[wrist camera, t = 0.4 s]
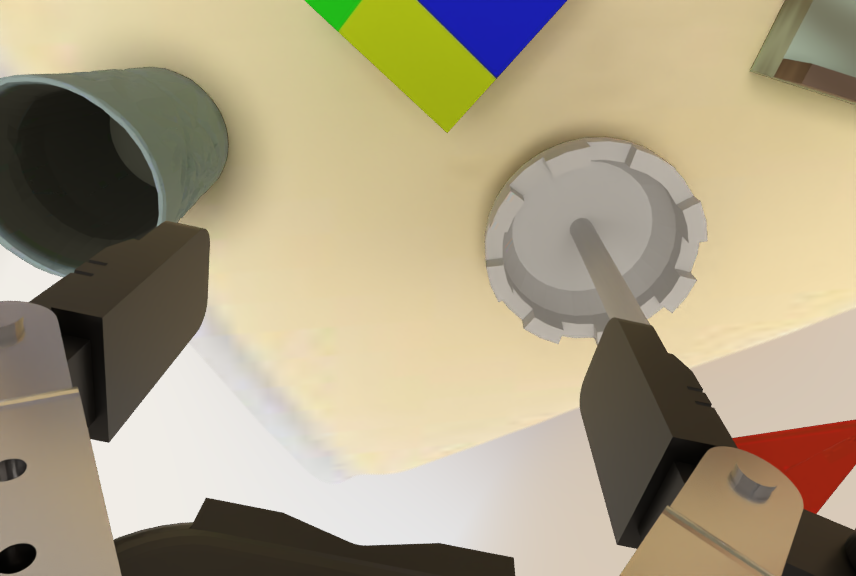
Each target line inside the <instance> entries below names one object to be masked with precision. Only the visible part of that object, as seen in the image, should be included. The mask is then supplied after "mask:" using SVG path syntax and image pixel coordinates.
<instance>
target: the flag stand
mask: <svg viewBox="0 0 856 576" xmlns="http://www.w3.org/2000/svg"><path fill="white" fill-rule="evenodd" d="M704 241H708V240H707V223H706V218H705V215H704V211H703V208H702V205H701V202H700V201H699V200H698V199H697V198H696V197H694V196H693V194H692V192H691V190H690V189H689V187H688V185H687V184H686V182H685V180H684V178H683V177H682V176H681V175H680V174H679V173H678V172H677V171H676V170H675V168H674V167H673V166H672V165H670V164H669V163H668V162H667V161H665V160H664V159H663V158H661V157H660V156H658V155H657V154H655V153H654V152H652V151H650V150H649V149H647V148H646V147H643V146H640V145H638V144H635V143H632V142H630V141H627V140H621V139H615V138H608V137H594V138H581V139H577V140H573V141H568V142H564V143H561V144H558V145H556V146H554V147H552V148H549V149H547V150H545V151H543V152H541V153H539V154H538V155H536V156H535V157H533V158H532V159H531V160H529V161H528V162H526V163H525V164H523V165H522V166H521V167H520V168H519V169H518V170H517V171H516V172H515V173H514V174H513V175H512V176H511V177H510V178H509V179H508V180H507V182H506V183H505V185H504V186H503V188H502V189H501V191H500V192H499V194H498V195H497V197H496V199H495V201H494V204H493V206H492V208H491V211H490V213H489V216H488V221H487V226H486V231H485V258H486V268H487V272H488V277H489V281H490V285H491V288H492V290H493V292H494V294H495V296H496V298H497V300H498V302H500V301H503V302H504V303H505V304H506V306H507V307H508V308H509V309H510V310H511V311H512V312H513V313H515V314H516V315H517V316H518V317H519V318H520V319H522V321H523V327H524V329H525V330H527V331H529V332H530V333H532V334H534V335H536V336H538V337H539V338H542V339H545V340H548V341H551V342H554V343H557V344H559V341H560V339H561V336H565V337H572V338H595V341H596V343H597V346H598V343H599V341H600V338H601V336H602V334H603V331H604V329H605V326H606V325H607V323H608V321H609V320H610V319H611V318H613V317H616V318H620V319H625V320H630V321H634V322H639V323H644V324H648V325H650V324H649V322H648V320H647V319H648V318H650V317H652V316H653V315H654V314H655V313H657V312H658V311H659V310H660V309H662V308H663V307H665V308H666V309H667V310H669V311H670V312H671V313H673V312H674V311H675V309H676V308H677V307H678V306H679V305H680V304H681V303H682V302H683V301H684V299H685V298H686V297H687V295H688V294H689V292H690V291H691V289H692V287H693V286H694V284H695V283H696V281H697V280H696V278H695V277H694V276H693V275H692V274H691V270H692V267H693V264H694V262H695V259H696V256H697V254H698V247H699V242H704ZM732 439H733V441H734V442H735V444H736V446H737V447H738V449H741V450H744V451H747V452H749V453H751V454H754V455H756V456H758V457H760V458H762V459H763V460H765V461H767V462H768V463H770V464H771V465H773V466H774V467H776V468H777V469H778V470H780V471H781V472H782V473H783V474H784V475H785V476H786V477H787V478H788V479H789V480H790V481H791V482H792V483H793V484H794V485H795V487H796V488H797V489H798V491H799V493H800V494H801V497H802V499H803V504H804V507H803V509H805V510H807V511H810V512H812V513H815V514H816V513H817V512H818V511H819V510H820V508H821V507H822V506H823V505H824V504H825V502H826V501H827V500H828V499H829V497H830V496H831V495H832V494H833V492H834V491H835V490H836V489H837V487H838V486H839V485H840V483H841V482H842V481H843V480H844V479H845V477H846V476H847V475H848V474H849V472H850V471H851V470H852V469H853V467H854V466H855V465H856V420H850V421H843V422H837V423H830V424H823V425H816V426H810V427H803V428H797V429H790V430H783V431H777V432H770V433H763V434H757V435H750V436H743V437H737V438H732Z"/></svg>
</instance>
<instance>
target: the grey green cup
mask: <svg viewBox="0 0 856 576" xmlns="http://www.w3.org/2000/svg"><path fill="white" fill-rule="evenodd" d="M227 154H228V137H227V131H226V127H225V123H224V121H223V118H222V116H221V114H220V112H219V110H218V108H217V106H216V105H215V104H214V102H213V101H212V99H211V98H210V97H209V96H208V95H207V94H206V93H205V92H204V91H203V90H202V89H201V88H200V87H199V86H198V85H197V84H195V83H194V82H193V81H192V80H191V79H188V78H186V77H184V76H182V75H180V74H177V73H175V72H173V71H170V70H166V69H163V68H155V67H144V68H132V69H125V70H117V69H113V70H100V71H92V72H75V73H64V74H30V75H15V76H9V77H4V78H0V244H1V245H2V246H3V247H5V248H6V249H8V250H9V251H11V252H12V253H14V254H15V255H16V256H18V257H19V258H21V259H22V260H24V261H26V262H27V263H29V264H31V265H33V266H34V267H36V268H38V269H41V270H43V271H46V272H48V273H50V274H54V275H58V276H61V277H65V276H66V275H68V274H69V273H74V271H75V269H76V268H78V267H79V266H81V265H82V264H83V263H85V262H89V259H91V258H92V257H93V256H95V255H96V254H98V253H99V252H100V251H102V250H103V249H105V248H106V247H109V246H112V245H115V244H118V243H121V242H124V241H127V240H131V239H136V240H140V239H141V238H143V237H144V236H145V235H147V234H148V233H149V232H151V231H152V230H153V229H155V228H156V227H157V226H159V225H160V224H161V223H163V222H164V221H170V222H175V223H178V221H179V219H180V218H182V217H183V216H184V215H185V214H186V212H187V211H188V210H189V209H190V208H191V207H192V206H193V205H194V204H195V203H196V201H197V200H198V199H199V198H200V196H202V195H203V194H204V193H205V192H206V191H207V190H208V189H209V188H210V187H211V186H212V185H213V183H214V182H215V181H216V180H217V179H218V178H219V176H220V174H221V172H222V170H223V168H224V165H225V162H226V159H227Z"/></svg>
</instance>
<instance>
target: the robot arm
mask: <svg viewBox="0 0 856 576" xmlns="http://www.w3.org/2000/svg"><path fill="white" fill-rule="evenodd" d="M209 251H210V238H209V233H208V231H207V230H206V229H203V228H198V227H194V226H189V225H184V224H180V223H175V222H170V221H164V222H163V223H161V224H160V225H159V226H157V227H156V228H155V229H153V230H152V231H151V232H149V233H148V234H147V235H145V236H144V237H143V238H141V239H140V240H136V239H131V240H127V241H124V242H121V243H118V244H115V245H112V246H109V247H106V248H105V249H103V250H102V251H100V252H99V253H98V254H96V255H95V256H93V257H92V258H91V259H89V262H85V263H83V264H82V265H81V266H79V267H78V268H76V269H75V271H74V273H69V274H68V275H66V276H65V277H64V278H62V279H61V280H60V281H58V282H57V283H55V284H54V285H52V286H51V287H50V288H48V289H47V290H45V291H44V292H42V293H41V294H40V295H38V296H37V297H35V298H34V299H33V300H32V301H30V302H21V301H0V576H515V568H514V558H512V557H507V556H502V555H497V554H491V553H486V552H481V551H476V550H471V549H466V548H461V547H456V546H451V545H446V544H441V543H432V544H403V545H372V546H362V545H356V544H353V543H350V542H348V541H345V540H343V539H341V538H339V537H336V536H334V535H332V534H330V533H327V532H325V531H323V530H320V529H318V528H316V527H314V526H312V525H309V524H307V523H305V522H303V521H300V520H298V519H296V518H294V517H291V516H289V515H287V514H284V513H282V512H276V511H271V510H266V509H261V508H255V507H251V506H246V505H241V504H235V503H230V502H225V501H220V500H214V499H209V498H206V499H205V501H204V503H203V505H202V507H201V509H200V511H199V513H198V515H197V517H196V518H195V521H194V522H190V523H177V524H170V525H162V526H158V527H154V528H149V529H144V530H140V531H137V532H134V533H131V534H128V535H125V536H122V537H119V538H117V539H115V540H113V536H112V532H111V528H110V523H109V519H108V515H107V511H106V506H105V502H104V497H103V493H102V489H101V484H100V480H99V476H98V471H97V467H96V463H95V458H94V454H93V450H92V445H91V441H90V439H94V440H99V441H103V442H110V441H111V439H112V438H113V437H114V436H115V434H116V433H117V432H118V431H119V429H120V428H121V427H122V426H123V424H124V423H125V422H126V421H127V419H128V418H129V417H130V416H131V414H132V413H133V412H134V410H135V409H136V408H137V407H138V405H139V404H140V403H141V402H142V400H143V399H144V398H145V397H146V395H147V394H148V393H149V392H150V390H151V389H152V388H153V387H154V385H155V384H156V383H157V382H158V380H159V379H160V378H161V376H162V375H163V374H164V373H165V371H166V370H167V369H168V368H169V366H170V365H171V364H172V363H173V361H174V360H175V359H176V358H177V356H178V355H179V354H180V353H181V351H182V350H183V349H184V348H185V346H186V345H187V344H188V343H189V341H190V340H191V339H192V337H193V336H194V335H195V334H196V332H197V331H198V330H199V328H200V326H201V324H202V321H203V319H204V316H205V312H206V307H207V299H208V275H209ZM702 391H703V389H702V387H701V386H700V384H699V382H698V381H697V379H696V377H695V375H694V374H693V372H692V371H691V370H690V369H689V368H688V367H687V366H685V365H684V364H683V363H682V362H681V361H680V360H679V359H678V358H677V357H675V356H674V355H673V354H669V353H668V352H667V351H666V349H665V347H664V345H663V344H662V342H661V340H660V338H659V336H658V335H657V333H656V331H655V329H654V328H653V326H651V325H648V324H644V323H639V322H634V321H630V320H625V319H620V318H616V317H613V318H611V319H610V320H609V321H608V323H607V325H606V326H605V329H604V331H603V334H602V336H601V338H600V341H599V343H598V346H597V348H596V351H595V353H594V356H593V358H592V361H591V363H590V366H589V368H588V371H587V373H586V376H585V378H584V381H583V384H582V388H581V393H580V411H581V415H582V419H583V422H584V426H585V429H586V433H587V437H588V440H589V444H590V448H591V452H592V455H593V459H594V462H595V466H596V470H597V474H598V477H599V481H600V485H601V488H602V492H603V495H604V499H605V502H606V507H607V510H608V514H609V517H610V521H611V525H612V528H613V532H614V536H615V539H616V543H617V545H621V546H626V547H631V548H636V549H637V550H636V552H635V553H634V555H633V556H632V558H631V559H630V561H629V562H628V564H627V565H626V567H625V568H624V570H623V571H622V573H621V574H620V576H856V529H855V530H853V529H850V528H848V527H845V526H843V525H841V524H838V523H836V522H833V521H831V520H829V519H826V518H824V517H822V516H819V515H817V514H815V513H812V512H810V511H807V510H805V509H803V507H804V504H803V499H802V497H801V494H800V493H799V491H798V489H797V488H796V487H795V485H794V484H793V483H792V482H791V481H790V480H789V479H788V478H787V477H786V476H785V475H784V474H783V473H782V472H781V471H780V470H778V469H777V468H776V467H774V466H773V465H771V464H770V463H768V462H767V461H765V460H763V459H762V458H760V457H758V456H756V455H754V454H751V453H749V452H747V451H744V450H741V449H738V447H737V446H736V444H735V442H734V441H733V439H732V438H731V436H730V434H729V432H728V431H727V429H726V427H725V426H724V424H723V422H722V421H721V419H720V417H719V416H718V414H717V412H716V410H715V409H714V408H712V407H711V405H712V404H711V402H710V400H709V399H708V397H707V395H706V394H705V393H703V392H702Z"/></svg>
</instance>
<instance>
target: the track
mask: <svg viewBox="0 0 856 576" xmlns="http://www.w3.org/2000/svg"><path fill="white" fill-rule="evenodd" d="M750 71H751V72H754V73H757V74H760V75H764V76H767V77H770V78H773V79H776V80H779V81H782V82H786V83H789V84H792V85H795V86H798V87H801V88H804V89H807V90H811V91H814V92H817V93H820V94H823V95H826V96H829V97H833V98H836V99H839V100H842V101H845V102H848V103H851V104H855V105H856V0H785V2H784V4H783V6H782V8H781V10H780V12H779V14H778V16H777V18H776V20H775V22H774V24H773V26H772V28H771V30H770V32H769V34H768V36H767V38H766V40H765V42H764V44H763V46H762V48H761V50H760V52H759V54H758V56H757V58H756V60H755V62H754V64H753V66H752V68H751V70H750Z"/></svg>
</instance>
